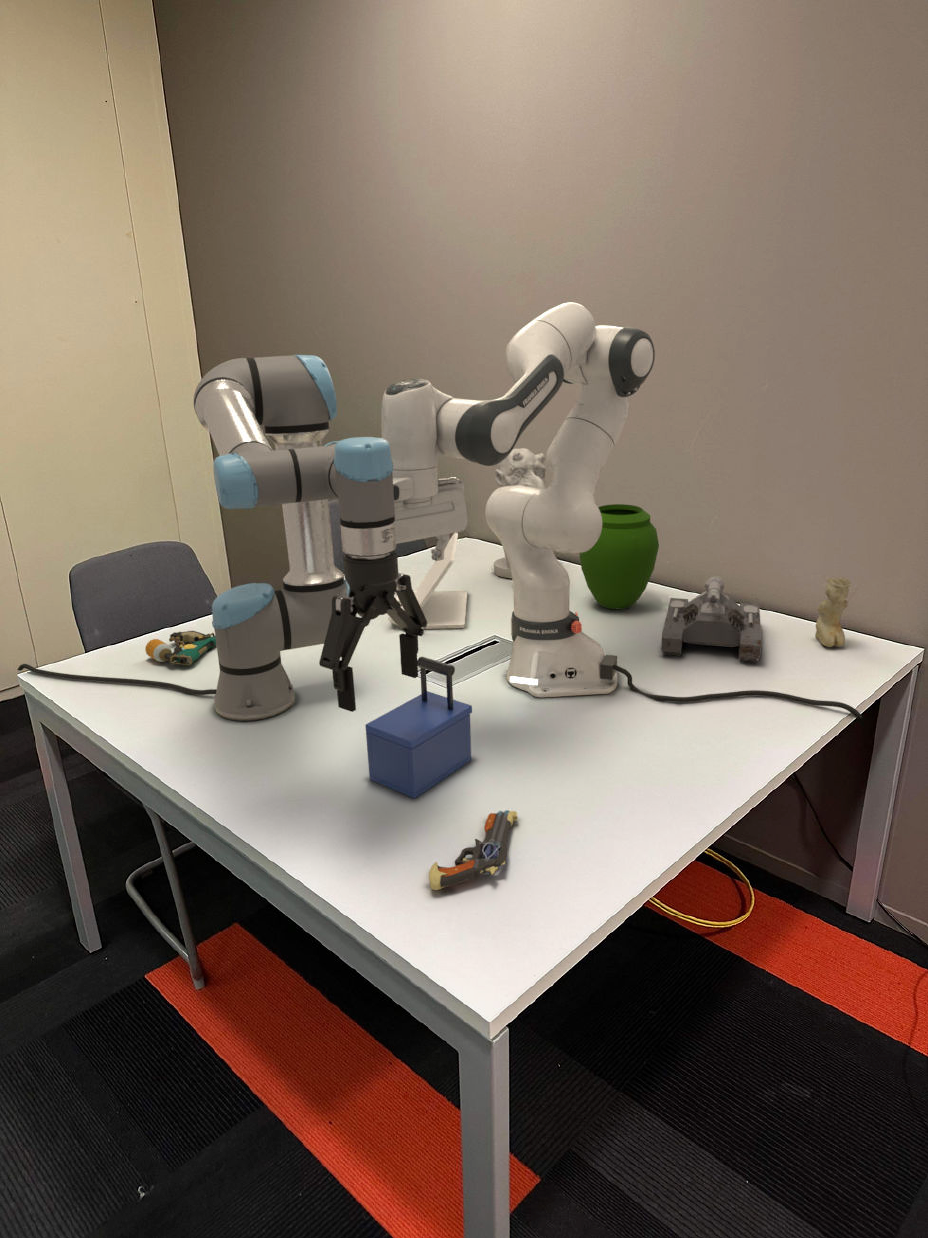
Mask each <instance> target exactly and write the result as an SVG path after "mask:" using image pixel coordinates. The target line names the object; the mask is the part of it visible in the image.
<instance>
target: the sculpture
mask: <svg viewBox="0 0 928 1238" xmlns="http://www.w3.org/2000/svg"><path fill="white" fill-rule="evenodd" d="M826 581H827V586H826V588H825V590H824V593H825V595H826V596H827V598H826V600H824V601H822V602H821V603H820V604H819V605H818V606H817V609H816V610H817V612H818V614H819V616H818V617H817V619H816V623H815V630H816V631H815V634H814V635H815V639H817V640H819V642H820V643H821V644H822V645H823V646H825V647H827V648H832V647H834V646H835V647H843V646H844V645H845V643H846V642H845V641H846V636H845V632H844V630H843V626H842V624H841V622H840V621H841V617H842V615H843V612H844V610H845V609H846V608H847V606H848V604H849V603H848V602H849V601H847V598H848V597H849V592H850V586H851V585H852V582H850V580H848V579H847V578H845V577H841V576H840V577H835V578H831V577H827V578H826Z"/></svg>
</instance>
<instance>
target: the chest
mask: <svg viewBox="0 0 928 1238" xmlns="http://www.w3.org/2000/svg"><path fill="white" fill-rule="evenodd" d="M471 731H472V730H471V713H470V714H469V715H467V716H465V717H464V718H462V719H460V720H459V721H457V722H455V723H454V724H452V725H450V726H449V727H447V728H446V729H444V730H442V731H441V732H439V733H437V734H436V735H434V736H432V737H431V738H429V739H428V740H426V741H424V742H423V743H421V744H419V745H418V746H416V747H414V748H413V749H410V748H408V747H405V746H402V745H400V744H397V743H395V742H392V741H389V740H387V739H384V738H382V737H379V736H376V735H374V734H371V733H368V732H366V731H365V737H366V739H365V740H366V750H367V761H368V762H367V764H368V777H369V780H370V781H373V782H374V783H378V784H379V785H381V786H384V787H386V788H388V789H391V790H394V791H396V792H399V793H400V794H403V795H405V796H407V797H410V798H412V799H416V798H418V797H420V796H421V795H423V793H425V792H427V791H428V790H429V789H431V788H433V787H434V786H435V785H437V784H438V783H440V782H441V781H443V780H445V779H446V778H447V777H449V776H451V775H452V774H454V773H455V772H456V771H457V770H459V769H461V768H463V766H465V765H467V764H468V763H469V762H471V761H472V735H471Z"/></svg>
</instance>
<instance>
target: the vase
mask: <svg viewBox="0 0 928 1238" xmlns="http://www.w3.org/2000/svg"><path fill="white" fill-rule="evenodd" d="M597 507H598V508H599V510H600V513H601V516H602V531H601V535H600V537H599V539H598V541H597V542H596V544H595V545H594V546H593V547H592V548H591V549H590V550H588V551H586V552H582V553H578V554H579V562H580V569H581V571H582V574H583V577H584V580H585V583H586V585H587V588H588V590H589V591H590V594H592V597H593V598H594V600H595V601H596V602H597V603H598V604H599V605H600V606H602V607H604V608H606V609H609V610H625V609H628V608H630V607H632V606H634V604H636V602H638V601H639V599H640V597H641V596H642V595H643V593H644V592H645V590H646V588H647V586H648V584H649V581H650V579H651V577H652V574H653V572H654V570H655V566H656V562H657V557H658V552H659V548H660V544H659V543H660V542H659V537H658V531H657V528H656V527H655V526H654V524H653V523H652V522H651V515H650V514H649V512H647V511H645V510H644V509H643V508H642V507H641V506H638V505H633V504H622V503H621V504H619V503H616V504H615V503H614V504H604V505H601V506H597Z"/></svg>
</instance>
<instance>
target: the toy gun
mask: <svg viewBox="0 0 928 1238" xmlns="http://www.w3.org/2000/svg"><path fill="white" fill-rule="evenodd" d="M515 821H518V812H517V811H516V810H508V809H506V810H504V811H502V810H499V811H497V812H496V813H495V812H490V813H489V814H488V815H487V817H486V821H485V823H484V833H485V838H484V839H483V841H482V840H479V839H477V838H474V842H475V843H474V844H475V846H472V847H471V846H467V847H465V848H463V849H462V850H461V852H460V854H459V856H458V857H457V858H456V859H454V866H449V867H446V866H439V864H438V862H436V861H435V862H434V863H432V865H431V867H430V869H429V873H428V880H429V887H430V889H431V890H432V891H438V890H442V889H443V888H447V887H452V886H454V885H458V884H460V883H463V882H465V881H468V880H473V879H476V878H480V877H481V876H483V875H485V874H486V873H490V875H491V876H493V875H495V873H496V872H497V871H498V870H499V867H501V866H504V865H506V860H507V856H508V850H509V849H508V840H509V837H510V833H511V829H512V827H513V823H514V822H515ZM467 856H471V858H470V859H466V857H467ZM482 856H483V858H482Z"/></svg>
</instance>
